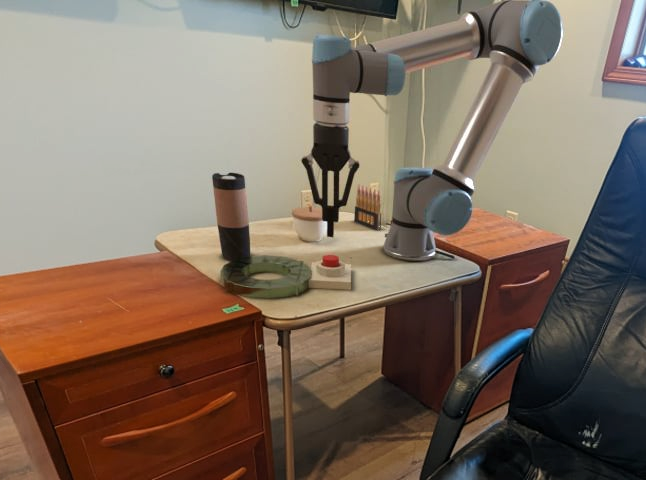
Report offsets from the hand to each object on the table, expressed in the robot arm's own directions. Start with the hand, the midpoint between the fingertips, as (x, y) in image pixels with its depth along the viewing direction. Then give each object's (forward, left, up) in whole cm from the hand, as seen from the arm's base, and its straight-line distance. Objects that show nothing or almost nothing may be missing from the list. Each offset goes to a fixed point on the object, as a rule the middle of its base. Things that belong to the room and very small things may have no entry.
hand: (330, 235), depth 123 cm
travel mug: (+25, -12, -11) cm, 30 cm away
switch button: (0, 0, -8) cm, 8 cm away
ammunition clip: (-10, -48, -11) cm, 50 cm away
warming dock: (+15, +3, -11) cm, 19 cm away
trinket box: (+7, -31, -11) cm, 34 cm away
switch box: (0, 0, -11) cm, 11 cm away
